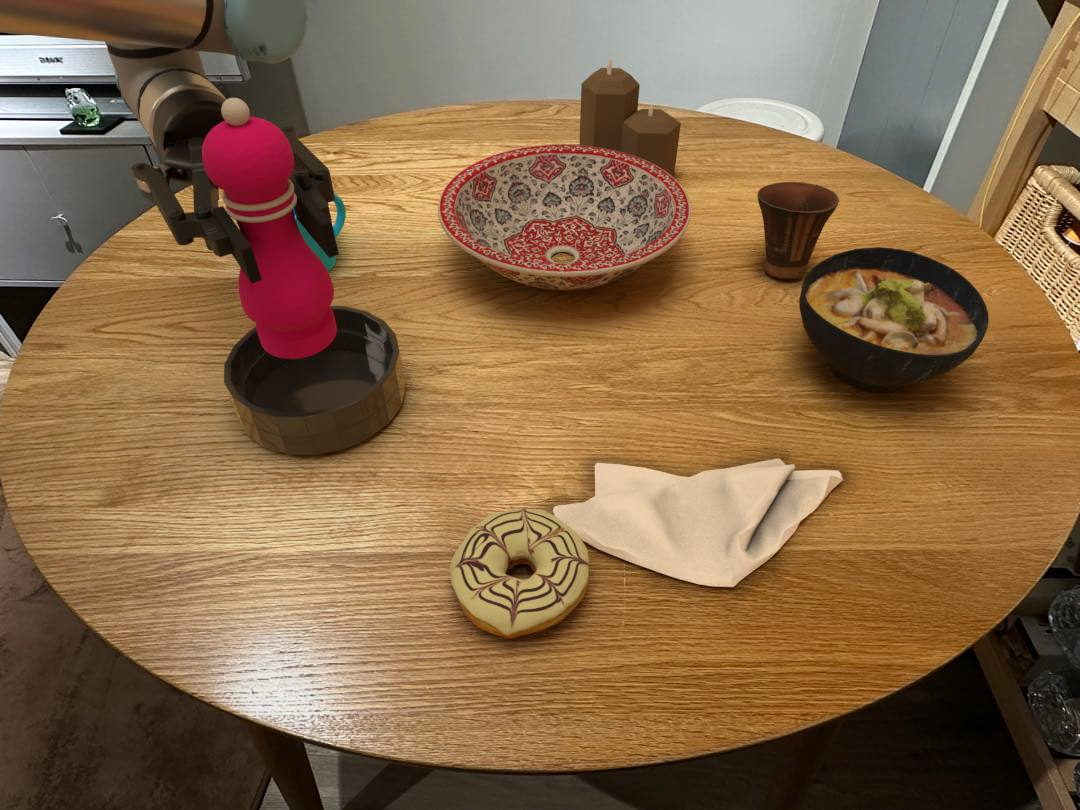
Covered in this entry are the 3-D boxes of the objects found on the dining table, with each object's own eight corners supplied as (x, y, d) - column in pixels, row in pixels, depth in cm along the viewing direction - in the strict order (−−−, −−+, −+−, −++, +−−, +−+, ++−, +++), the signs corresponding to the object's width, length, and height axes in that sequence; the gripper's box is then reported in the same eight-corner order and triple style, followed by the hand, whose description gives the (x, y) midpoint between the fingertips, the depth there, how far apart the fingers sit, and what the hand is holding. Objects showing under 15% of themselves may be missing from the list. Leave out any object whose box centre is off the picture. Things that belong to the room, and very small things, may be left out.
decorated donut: (426, 582, 62) (421, 554, 59) (526, 509, 67) (525, 481, 64) (513, 672, 56) (511, 646, 53) (614, 585, 61) (617, 557, 59)
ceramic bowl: (608, 182, 109) (612, 127, 103) (730, 292, 90) (743, 232, 84) (411, 230, 100) (403, 172, 94) (501, 363, 81) (497, 301, 75)
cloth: (555, 591, 61) (555, 575, 59) (551, 461, 71) (551, 444, 69) (883, 587, 61) (892, 571, 59) (834, 458, 71) (840, 441, 69)
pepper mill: (302, 299, 68) (240, 69, 54) (361, 329, 65) (311, 93, 51) (236, 342, 64) (150, 104, 50) (295, 375, 61) (221, 132, 47)
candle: (551, 163, 113) (552, 57, 102) (630, 143, 117) (639, 40, 107) (598, 205, 104) (604, 94, 94) (681, 182, 108) (696, 74, 98)
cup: (782, 239, 98) (800, 165, 91) (834, 274, 92) (857, 198, 85) (727, 258, 95) (742, 184, 88) (778, 296, 89) (798, 219, 82)
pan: (273, 485, 69) (257, 443, 65) (218, 384, 79) (201, 342, 75) (434, 414, 75) (428, 372, 71) (364, 328, 85) (356, 287, 81)
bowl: (756, 376, 79) (776, 297, 72) (822, 296, 89) (845, 220, 82) (924, 450, 72) (965, 370, 65) (976, 354, 81) (1016, 275, 74)
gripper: (304, 145, 74) (414, 257, 60) (106, 198, 67) (178, 340, 53) (286, 65, 69) (401, 168, 55) (69, 113, 62) (137, 245, 48)
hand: (291, 252), depth 54 cm, fingers closed on pepper mill, 5 cm apart
